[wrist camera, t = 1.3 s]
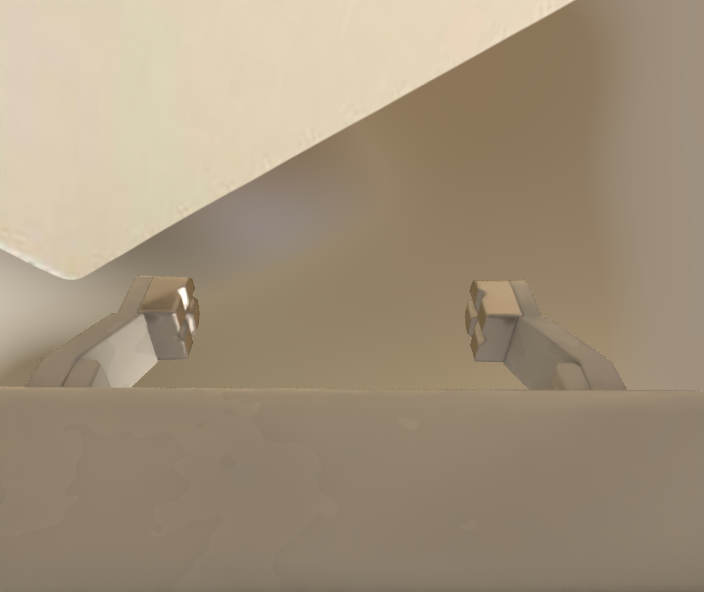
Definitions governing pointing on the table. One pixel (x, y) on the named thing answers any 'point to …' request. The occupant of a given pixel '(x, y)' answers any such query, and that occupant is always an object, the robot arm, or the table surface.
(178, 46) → the table surface
